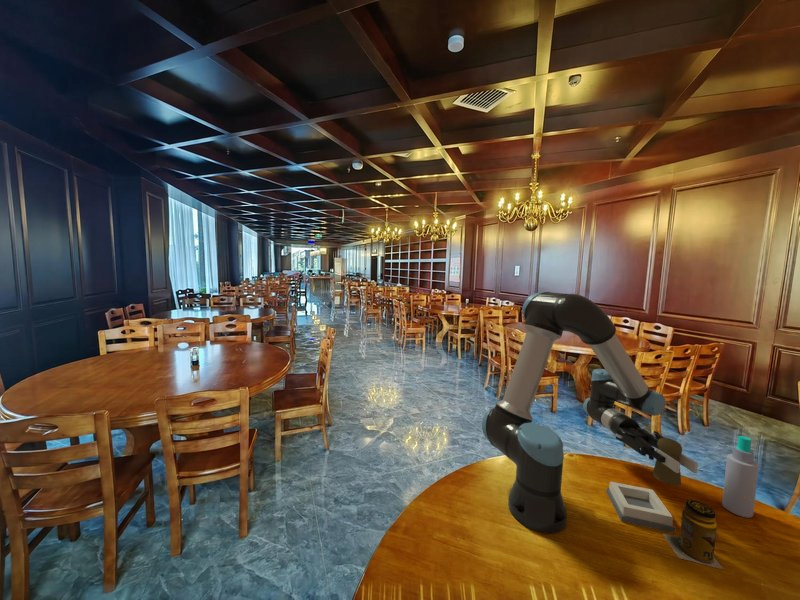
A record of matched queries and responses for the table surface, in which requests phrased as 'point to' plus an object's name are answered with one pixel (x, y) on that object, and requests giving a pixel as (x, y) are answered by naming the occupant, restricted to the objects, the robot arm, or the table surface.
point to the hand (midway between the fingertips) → (687, 468)
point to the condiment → (696, 534)
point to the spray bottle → (740, 479)
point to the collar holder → (640, 507)
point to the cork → (662, 470)
